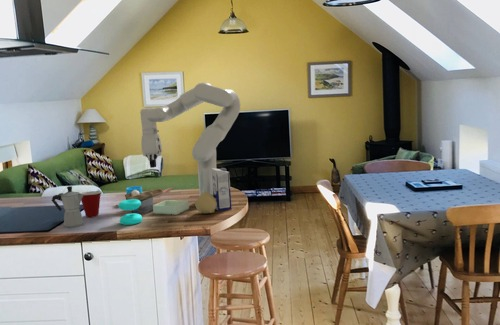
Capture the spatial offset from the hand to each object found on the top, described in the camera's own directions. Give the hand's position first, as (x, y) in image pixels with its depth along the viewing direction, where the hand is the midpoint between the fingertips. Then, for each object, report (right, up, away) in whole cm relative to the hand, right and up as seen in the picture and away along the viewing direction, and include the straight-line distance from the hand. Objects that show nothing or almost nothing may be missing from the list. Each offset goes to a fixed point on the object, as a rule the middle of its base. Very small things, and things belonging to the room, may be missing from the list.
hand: (153, 167), depth 263 cm
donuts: (-3, -25, -34) cm, 43 cm away
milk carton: (+37, -20, -18) cm, 46 cm away
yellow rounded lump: (+30, -22, -26) cm, 46 cm away
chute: (0, -14, -8) cm, 17 cm away
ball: (-7, -13, -11) cm, 18 cm away
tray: (+12, -21, -18) cm, 30 cm away
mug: (-10, -19, +8) cm, 23 cm away
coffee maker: (-31, -26, -33) cm, 52 cm away
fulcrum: (-1, -21, -12) cm, 24 cm away
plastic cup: (-26, -24, -18) cm, 40 cm away
